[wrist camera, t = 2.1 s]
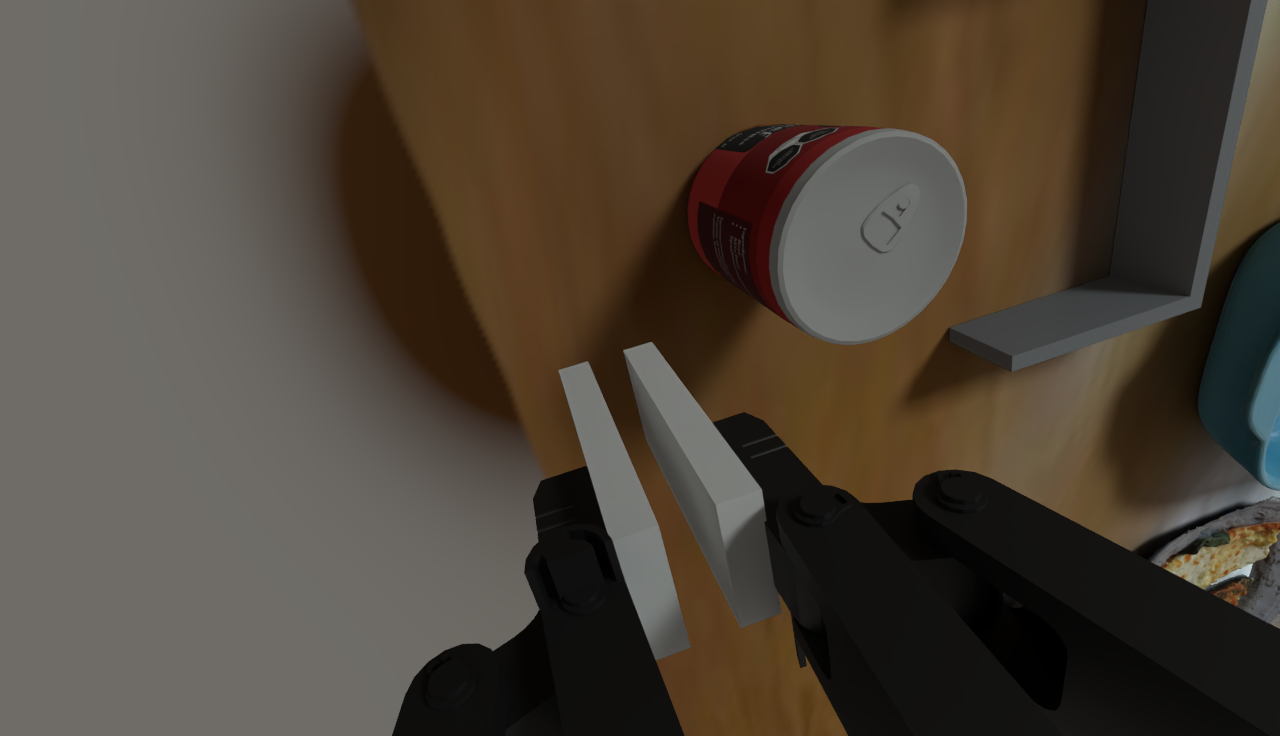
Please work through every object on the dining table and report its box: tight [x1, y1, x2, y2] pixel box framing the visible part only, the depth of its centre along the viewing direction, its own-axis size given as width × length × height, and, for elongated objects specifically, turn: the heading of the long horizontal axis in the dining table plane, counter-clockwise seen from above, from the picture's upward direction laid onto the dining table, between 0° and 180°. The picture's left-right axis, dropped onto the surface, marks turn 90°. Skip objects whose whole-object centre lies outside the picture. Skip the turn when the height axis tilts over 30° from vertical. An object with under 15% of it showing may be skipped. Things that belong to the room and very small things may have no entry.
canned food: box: [687, 124, 967, 345], centre depth 26 cm, size 8×8×11 cm
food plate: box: [1148, 496, 1280, 624], centre depth 56 cm, size 25×23×4 cm
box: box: [949, 0, 1267, 372], centre depth 31 cm, size 24×13×5 cm, turn 13°
